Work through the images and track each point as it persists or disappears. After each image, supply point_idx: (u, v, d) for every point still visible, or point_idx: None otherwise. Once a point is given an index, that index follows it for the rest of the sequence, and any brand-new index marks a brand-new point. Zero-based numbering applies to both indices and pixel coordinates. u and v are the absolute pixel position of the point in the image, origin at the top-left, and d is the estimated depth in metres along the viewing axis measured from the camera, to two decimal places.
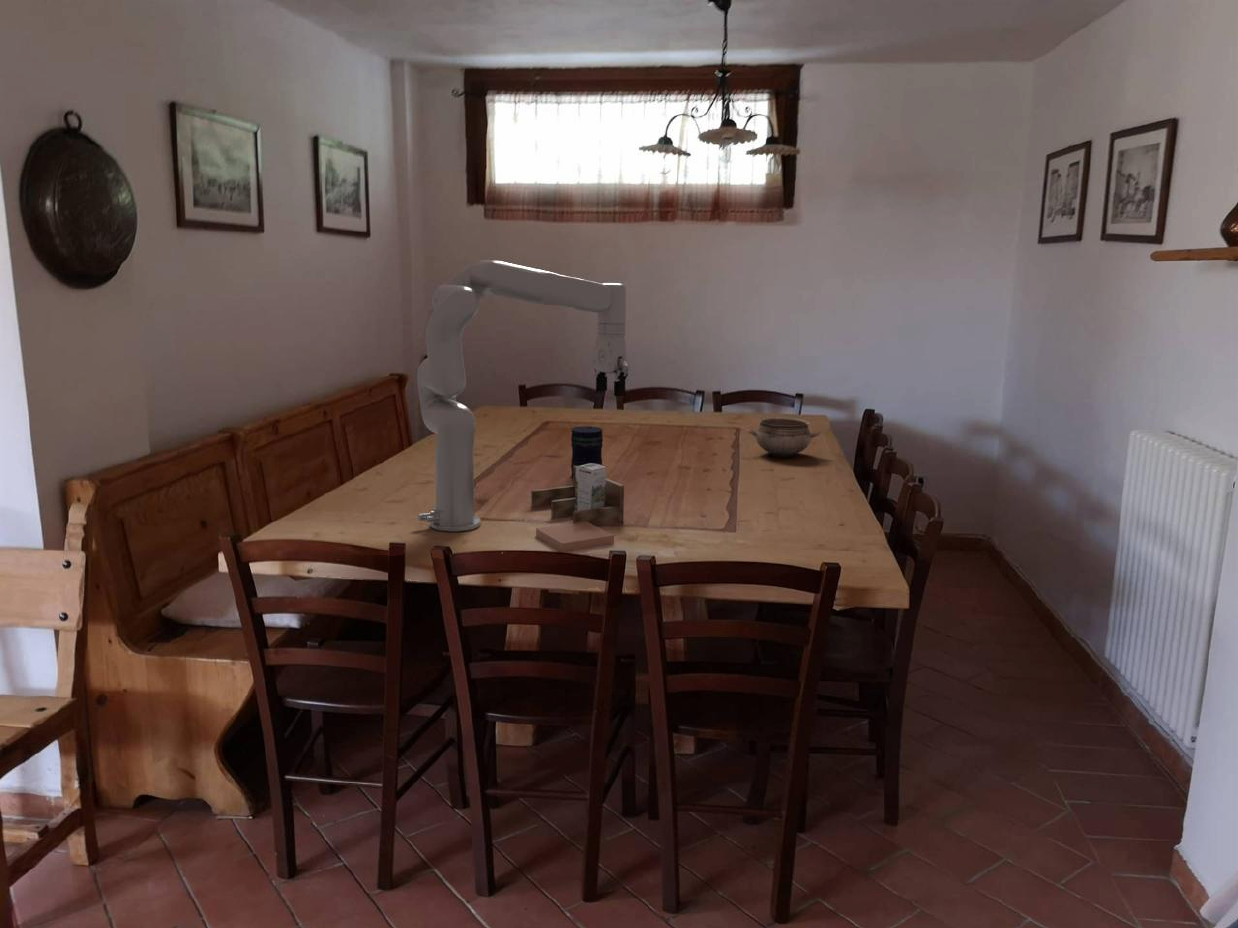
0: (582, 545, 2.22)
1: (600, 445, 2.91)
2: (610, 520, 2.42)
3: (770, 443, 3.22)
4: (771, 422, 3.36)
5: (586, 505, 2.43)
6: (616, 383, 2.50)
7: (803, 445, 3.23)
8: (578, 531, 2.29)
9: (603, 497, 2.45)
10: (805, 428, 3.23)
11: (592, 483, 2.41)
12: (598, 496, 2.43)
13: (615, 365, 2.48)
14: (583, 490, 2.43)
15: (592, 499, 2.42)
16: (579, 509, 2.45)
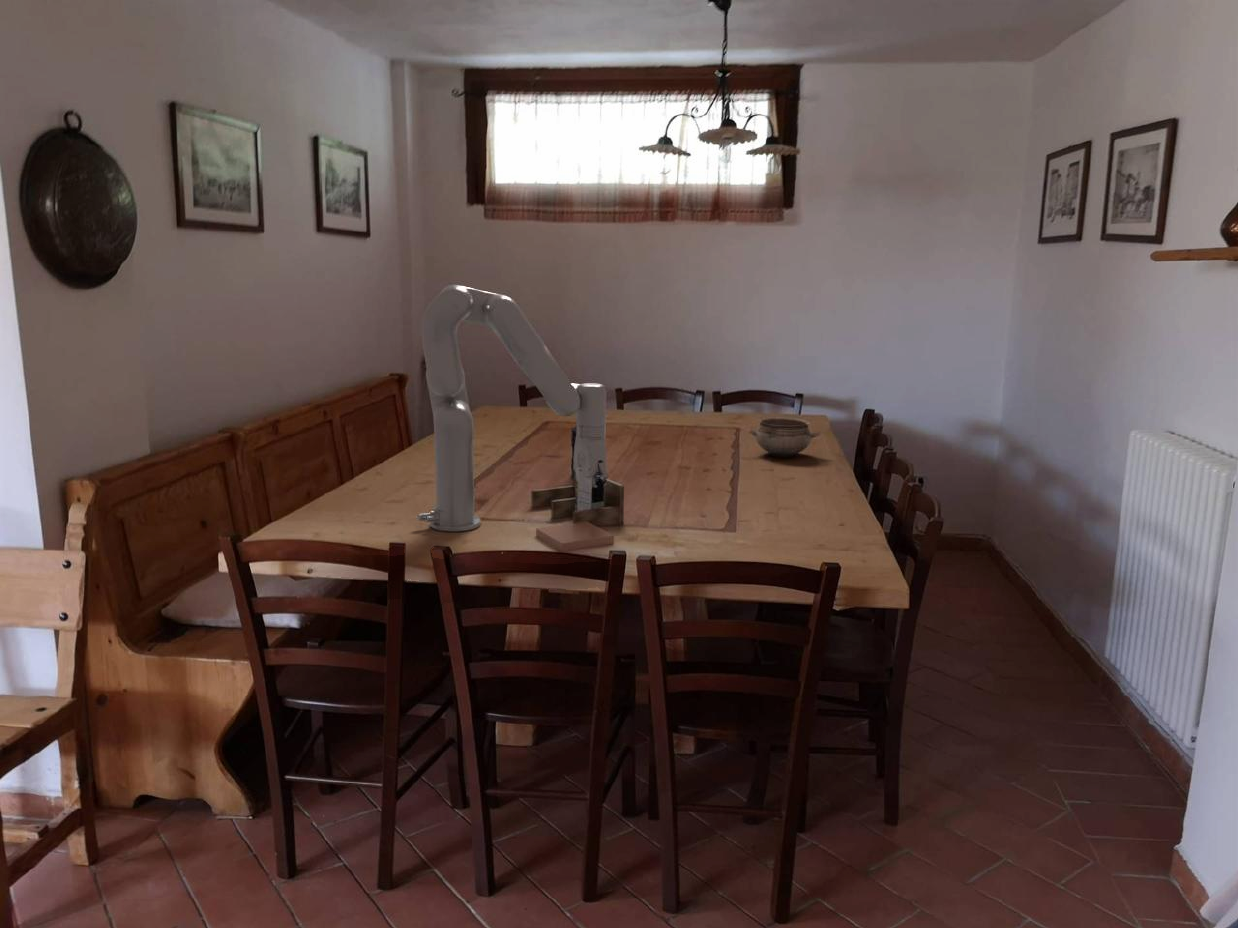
0: (582, 545, 2.22)
1: None
2: (610, 520, 2.42)
3: (770, 443, 3.22)
4: (771, 422, 3.36)
5: (586, 505, 2.43)
6: (594, 489, 2.41)
7: (803, 445, 3.23)
8: (578, 531, 2.29)
9: None
10: (805, 428, 3.23)
11: (592, 483, 2.41)
12: None
13: (595, 469, 2.39)
14: (583, 489, 2.43)
15: None
16: (579, 509, 2.45)
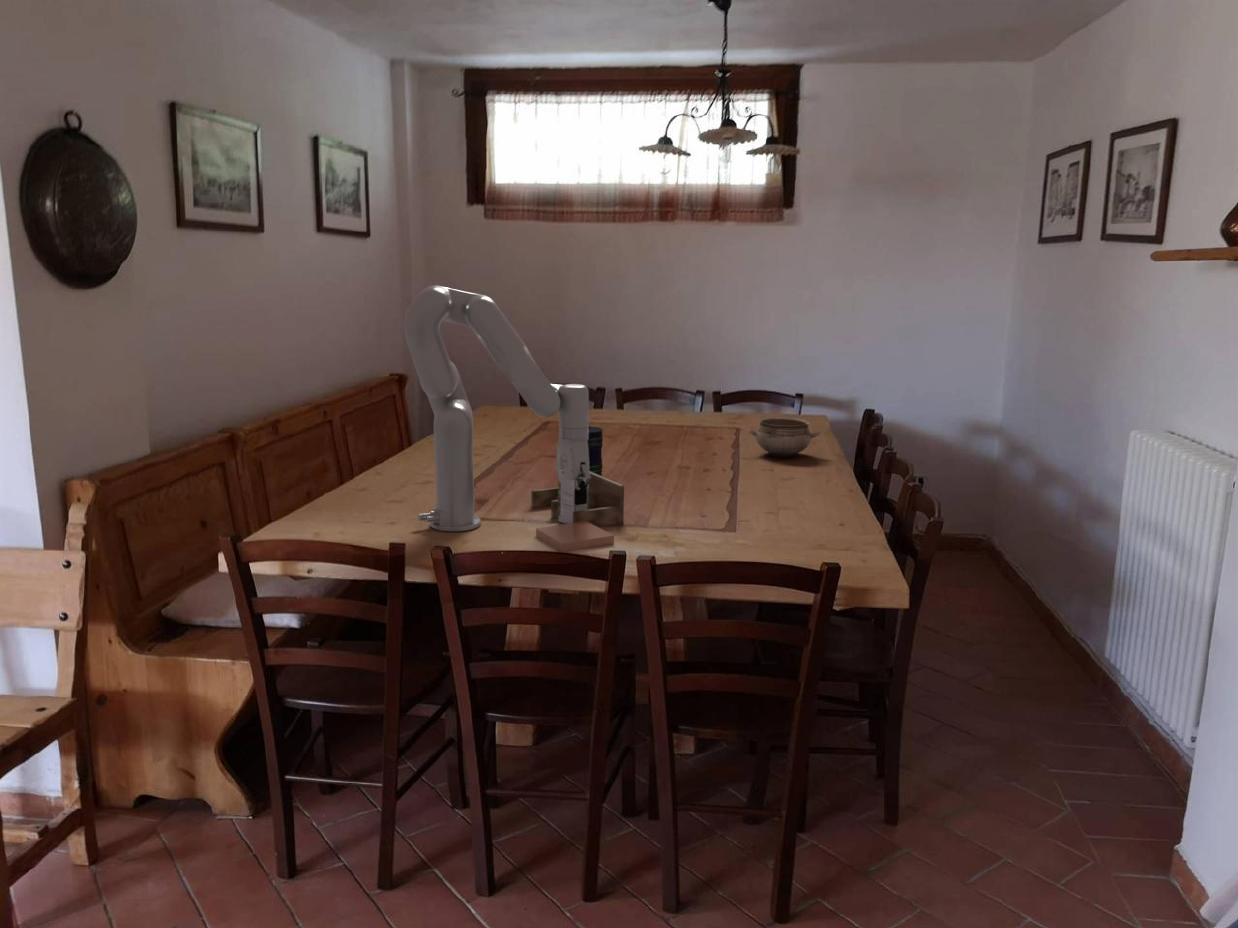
0: (582, 545, 2.22)
1: (600, 445, 2.91)
2: (610, 520, 2.42)
3: (770, 443, 3.22)
4: (771, 422, 3.36)
5: (569, 507, 2.40)
6: (577, 491, 2.38)
7: (803, 445, 3.23)
8: (578, 531, 2.29)
9: None
10: (805, 428, 3.23)
11: (575, 485, 2.38)
12: None
13: (577, 471, 2.36)
14: (566, 492, 2.40)
15: None
16: (562, 511, 2.42)
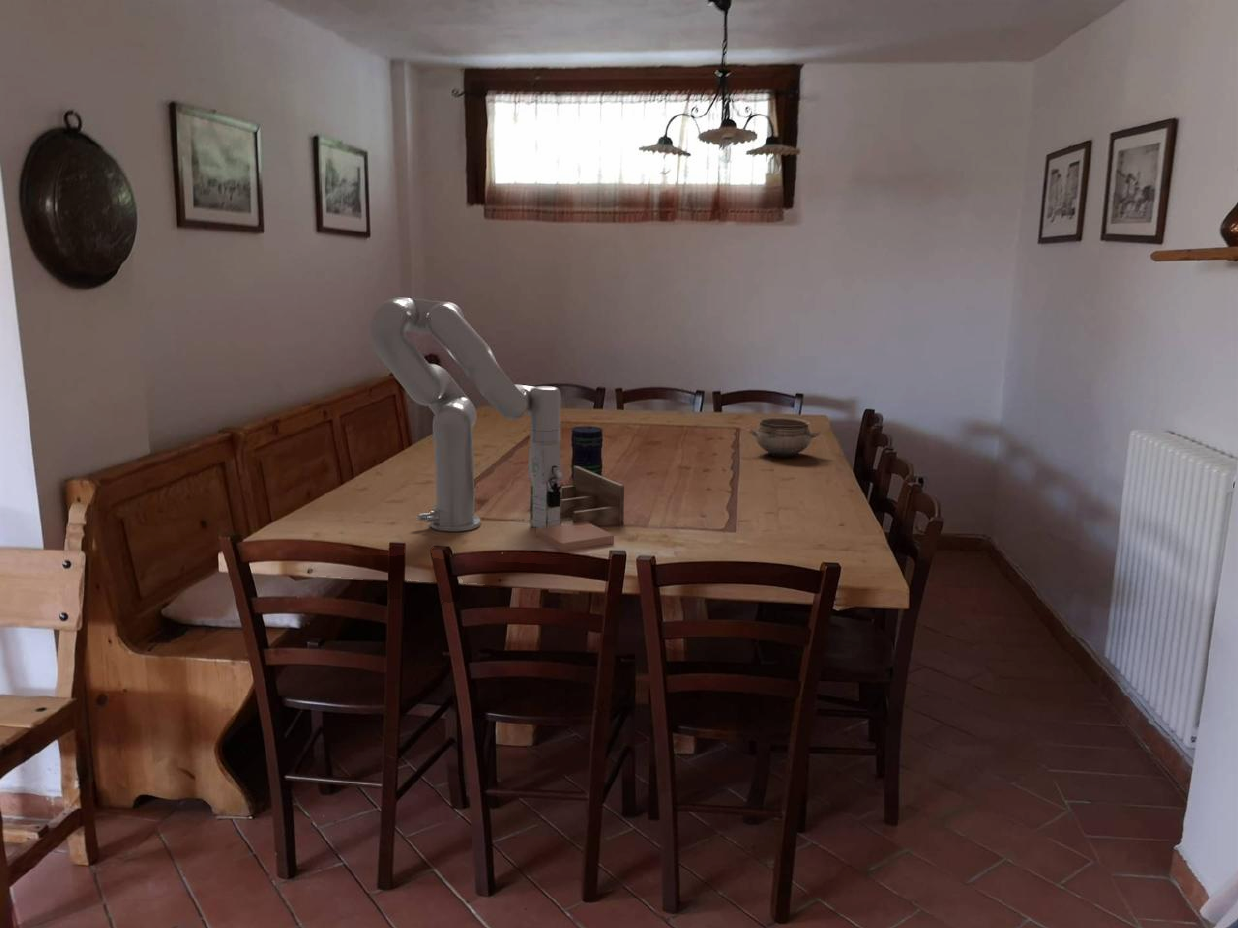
0: (582, 545, 2.22)
1: (600, 445, 2.91)
2: (610, 520, 2.42)
3: (770, 443, 3.22)
4: (771, 422, 3.36)
5: (541, 511, 2.36)
6: (550, 494, 2.33)
7: (803, 445, 3.23)
8: (578, 531, 2.29)
9: None
10: (805, 428, 3.23)
11: (547, 489, 2.34)
12: None
13: (549, 475, 2.32)
14: (538, 495, 2.36)
15: (547, 505, 2.35)
16: (534, 515, 2.38)
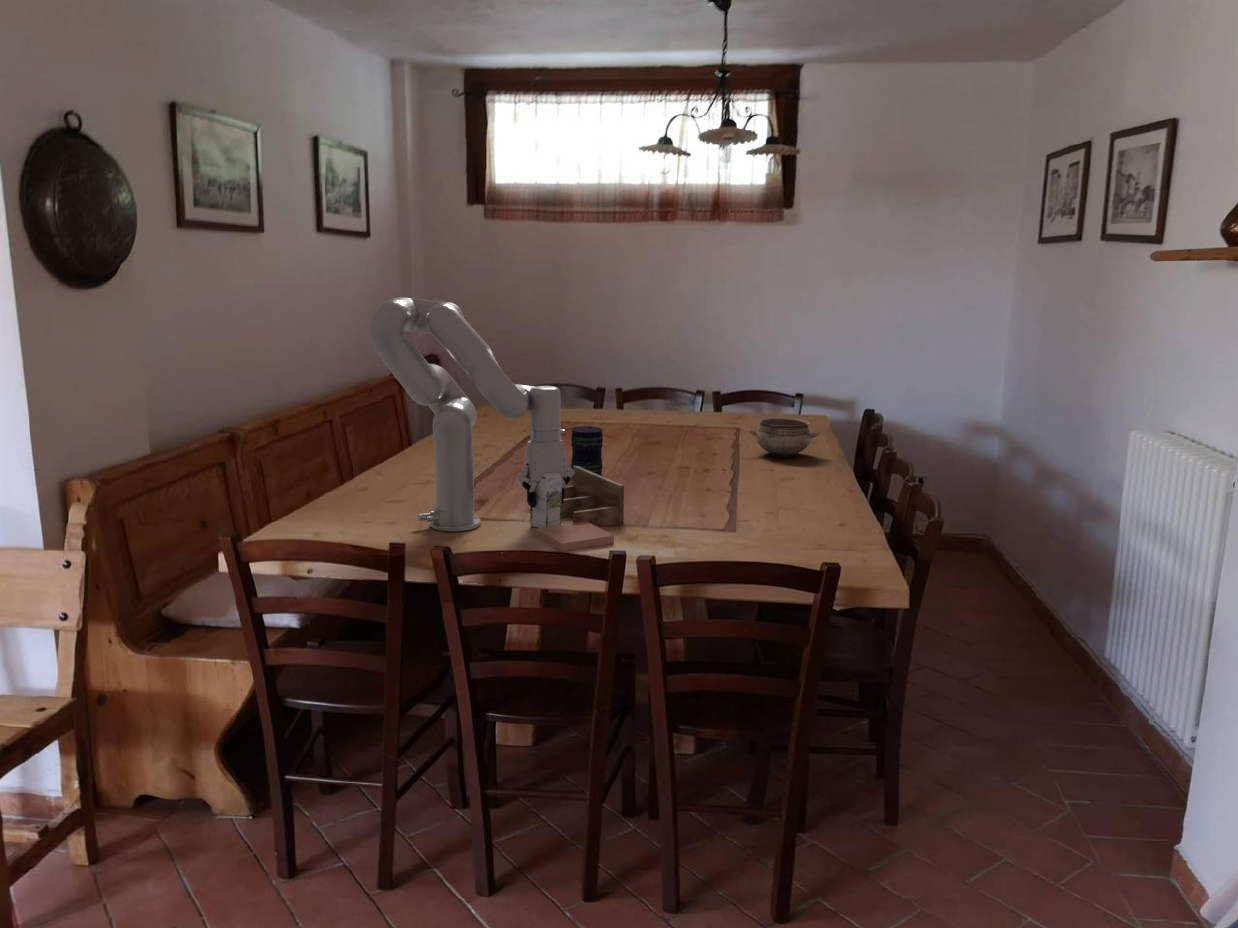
0: (582, 545, 2.22)
1: (600, 445, 2.91)
2: (610, 520, 2.42)
3: (770, 443, 3.22)
4: (771, 422, 3.36)
5: (541, 511, 2.36)
6: None
7: (803, 445, 3.23)
8: (578, 531, 2.29)
9: (559, 503, 2.39)
10: (805, 428, 3.23)
11: (547, 489, 2.34)
12: (553, 502, 2.37)
13: None
14: (538, 495, 2.36)
15: (547, 505, 2.35)
16: (534, 515, 2.38)
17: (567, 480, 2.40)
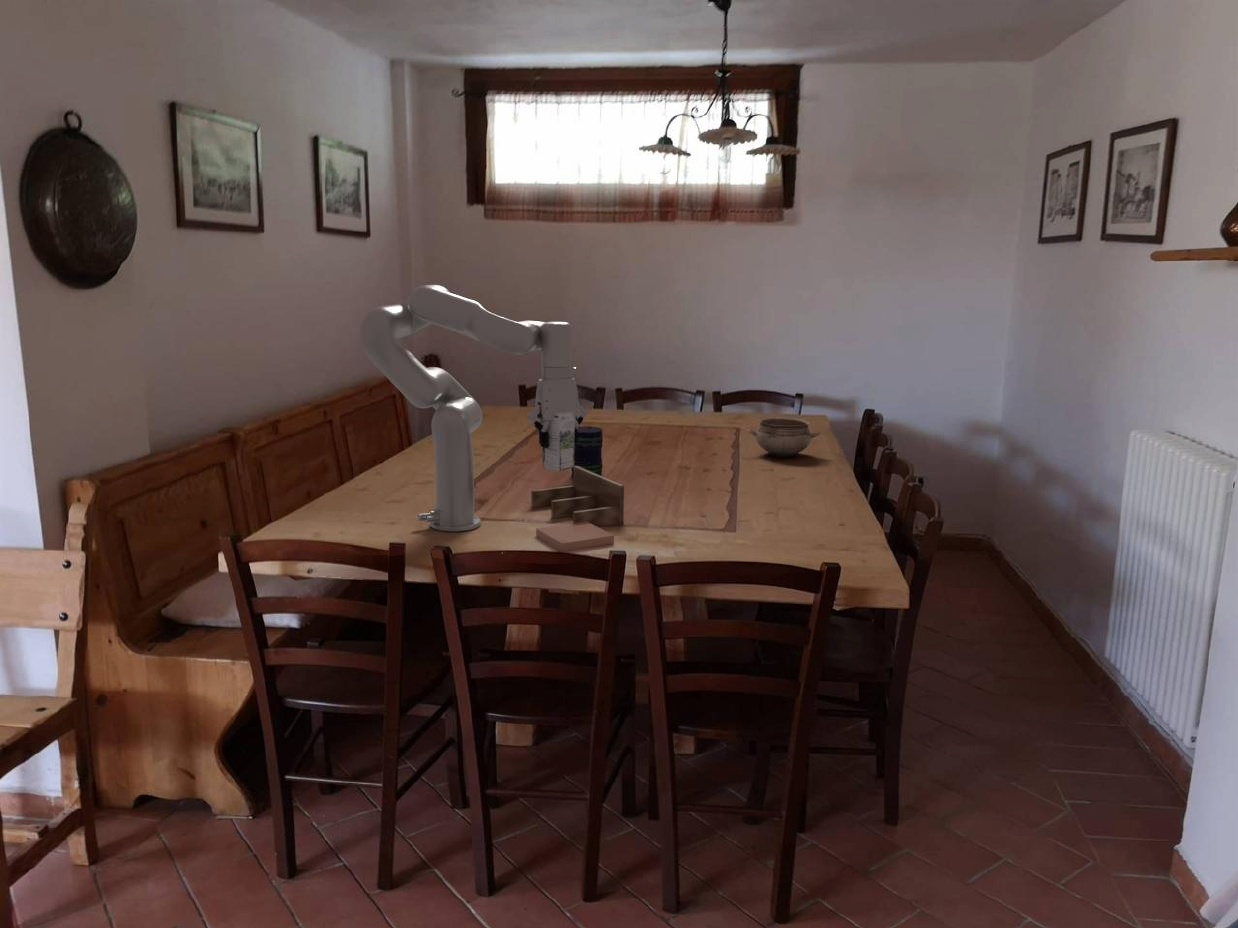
0: (582, 545, 2.22)
1: (600, 445, 2.91)
2: (610, 520, 2.42)
3: (770, 443, 3.22)
4: (771, 422, 3.36)
5: (554, 452, 2.28)
6: None
7: (803, 445, 3.23)
8: (578, 531, 2.29)
9: (572, 444, 2.31)
10: (805, 428, 3.23)
11: (560, 428, 2.27)
12: (566, 443, 2.29)
13: None
14: (551, 436, 2.28)
15: (561, 445, 2.28)
16: (547, 457, 2.30)
17: (580, 420, 2.32)
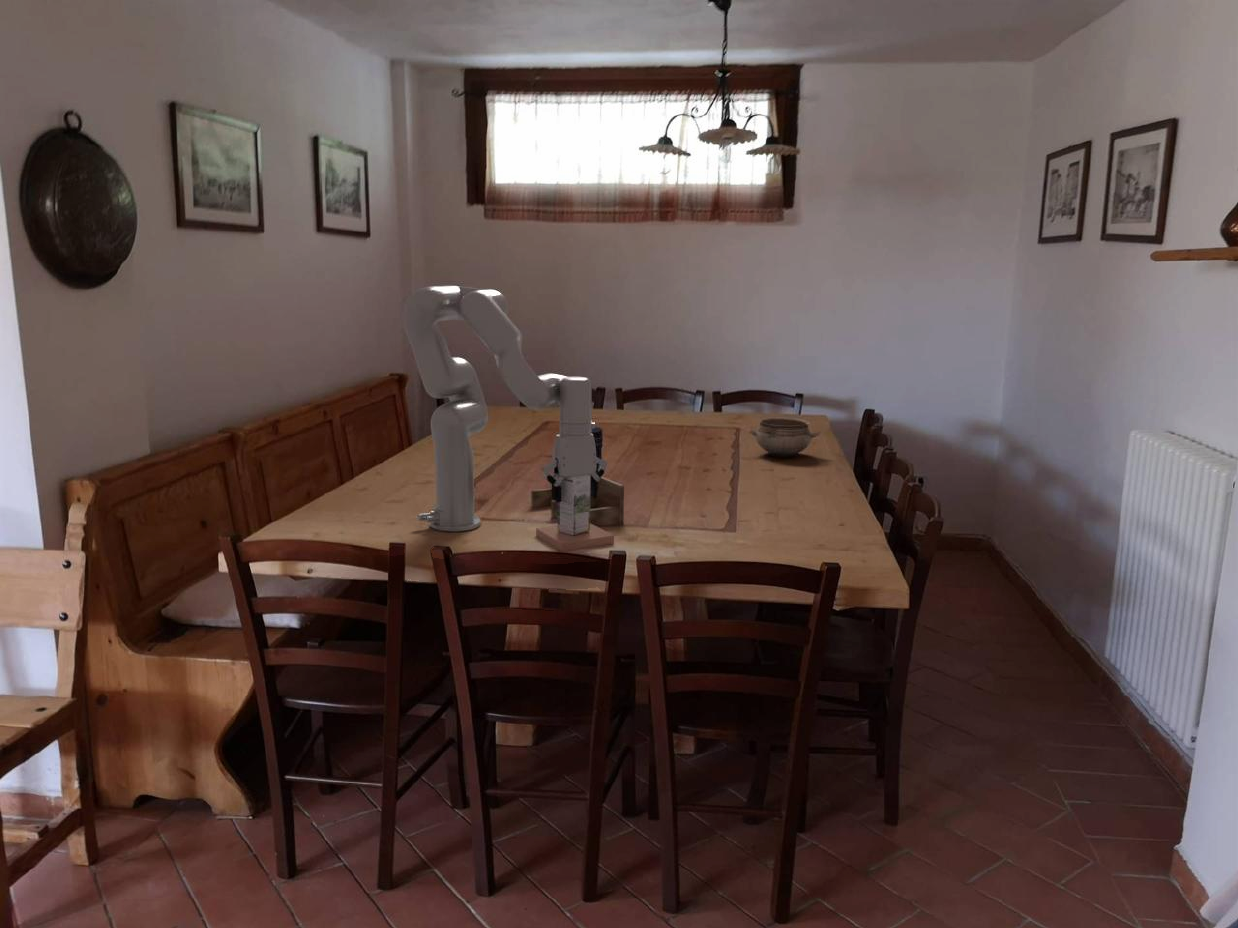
0: (582, 545, 2.22)
1: (600, 445, 2.91)
2: (610, 520, 2.42)
3: (770, 443, 3.22)
4: (771, 422, 3.36)
5: (569, 516, 2.25)
6: None
7: (803, 445, 3.23)
8: None
9: (588, 507, 2.27)
10: (805, 428, 3.23)
11: (575, 493, 2.23)
12: (581, 507, 2.25)
13: None
14: (565, 499, 2.25)
15: (575, 510, 2.24)
16: (562, 520, 2.27)
17: (601, 473, 2.28)
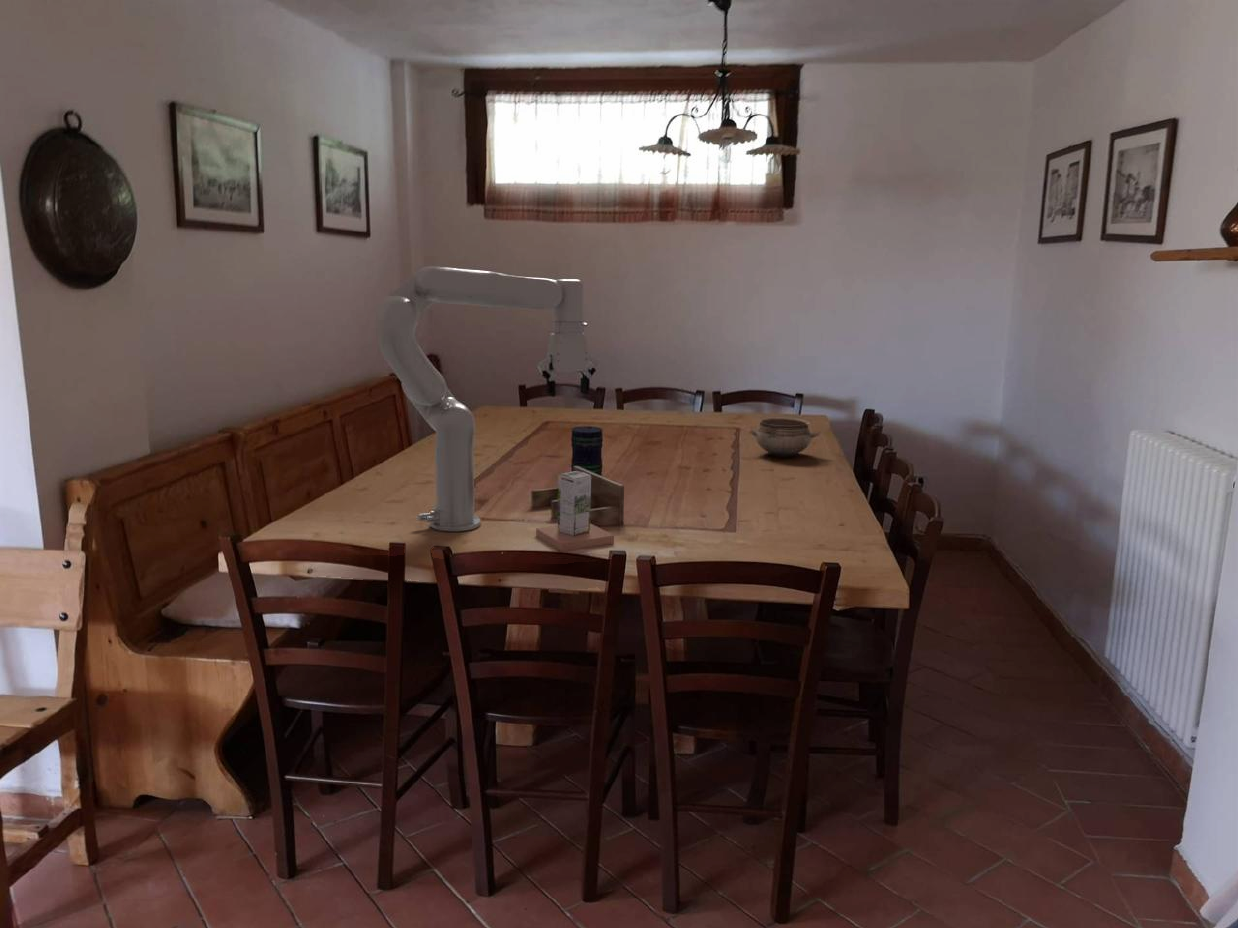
0: (582, 545, 2.22)
1: (600, 445, 2.91)
2: (610, 520, 2.42)
3: (770, 443, 3.22)
4: (771, 422, 3.36)
5: (569, 516, 2.25)
6: None
7: (803, 445, 3.23)
8: None
9: (588, 508, 2.27)
10: (805, 428, 3.23)
11: (575, 493, 2.23)
12: (582, 507, 2.25)
13: None
14: (566, 499, 2.25)
15: (575, 510, 2.24)
16: (562, 520, 2.27)
17: (592, 371, 2.45)
